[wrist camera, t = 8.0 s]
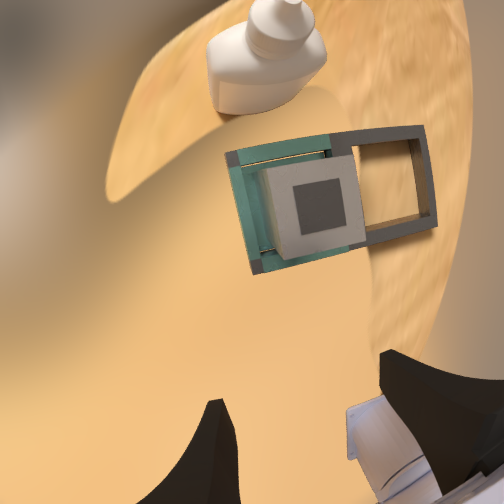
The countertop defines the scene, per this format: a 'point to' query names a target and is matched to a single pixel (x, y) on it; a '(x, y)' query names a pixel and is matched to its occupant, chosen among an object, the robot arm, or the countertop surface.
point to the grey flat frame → (331, 146)
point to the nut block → (311, 206)
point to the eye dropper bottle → (264, 58)
